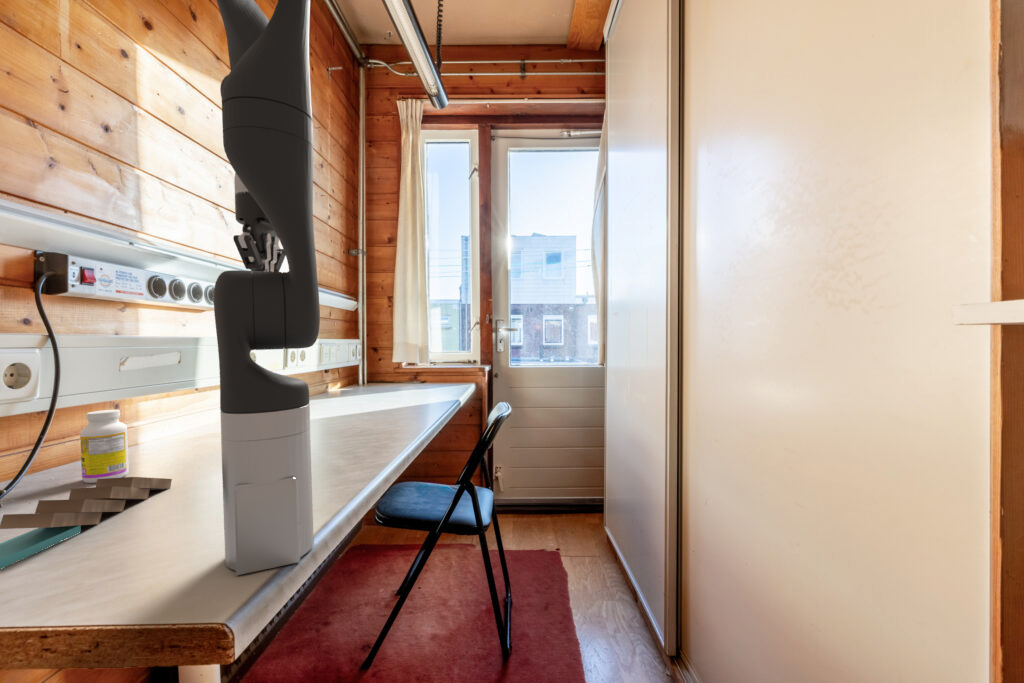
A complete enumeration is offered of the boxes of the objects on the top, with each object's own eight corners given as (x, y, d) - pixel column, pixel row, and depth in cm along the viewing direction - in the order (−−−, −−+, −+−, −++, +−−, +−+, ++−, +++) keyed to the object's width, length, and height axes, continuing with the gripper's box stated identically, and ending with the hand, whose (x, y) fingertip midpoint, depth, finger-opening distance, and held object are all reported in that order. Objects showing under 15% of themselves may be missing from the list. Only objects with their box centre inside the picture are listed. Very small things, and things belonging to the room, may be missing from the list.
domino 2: (81, 536, 60) (-4, 576, 50) (43, 537, 60) (-49, 577, 50) (80, 524, 60) (-5, 562, 50) (43, 525, 60) (-50, 563, 50)
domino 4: (147, 498, 73) (110, 498, 64) (112, 501, 72) (68, 500, 63) (149, 488, 74) (112, 486, 64) (114, 490, 72) (71, 488, 63)
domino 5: (170, 488, 78) (131, 487, 69) (138, 490, 78) (95, 489, 68) (171, 478, 79) (133, 476, 69) (140, 480, 78) (97, 479, 69)
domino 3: (123, 511, 68) (81, 512, 59) (83, 512, 67) (34, 513, 57) (125, 500, 68) (85, 499, 59) (86, 501, 67) (38, 500, 58)
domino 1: (99, 523, 63) (50, 527, 54) (56, 525, 62) (-2, 529, 53) (102, 511, 64) (54, 513, 54) (59, 512, 62) (3, 514, 53)
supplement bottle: (91, 476, 87) (88, 410, 87) (134, 471, 90) (131, 407, 90) (75, 486, 81) (72, 415, 81) (121, 480, 84) (119, 412, 84)
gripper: (261, 182, 71) (265, 292, 71) (299, 207, 84) (302, 299, 84) (213, 183, 70) (217, 293, 71) (259, 208, 84) (262, 300, 84)
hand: (263, 296), depth 77 cm, fingers closed
